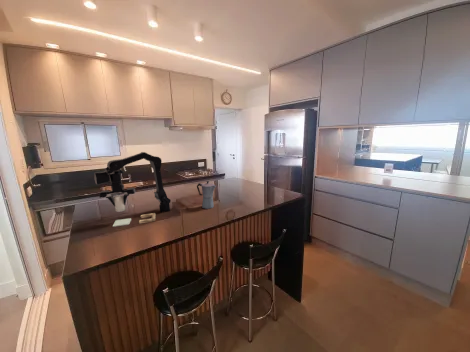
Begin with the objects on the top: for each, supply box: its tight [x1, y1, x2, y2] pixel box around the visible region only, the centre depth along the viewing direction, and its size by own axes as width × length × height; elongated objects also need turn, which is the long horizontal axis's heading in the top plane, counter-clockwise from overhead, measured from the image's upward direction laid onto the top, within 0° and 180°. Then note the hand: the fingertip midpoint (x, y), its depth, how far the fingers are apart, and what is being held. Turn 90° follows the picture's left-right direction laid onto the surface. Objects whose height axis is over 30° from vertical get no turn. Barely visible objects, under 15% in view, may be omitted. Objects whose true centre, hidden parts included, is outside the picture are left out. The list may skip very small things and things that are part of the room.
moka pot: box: [196, 180, 217, 210], centre depth 149 cm, size 10×15×20 cm, turn 78°
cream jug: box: [113, 194, 126, 213], centre depth 126 cm, size 8×5×9 cm
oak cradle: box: [138, 212, 156, 224], centre depth 132 cm, size 9×11×2 cm
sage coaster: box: [112, 218, 132, 228], centre depth 127 cm, size 9×9×1 cm
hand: (119, 205), depth 125 cm, fingers closed on cream jug, 5 cm apart
